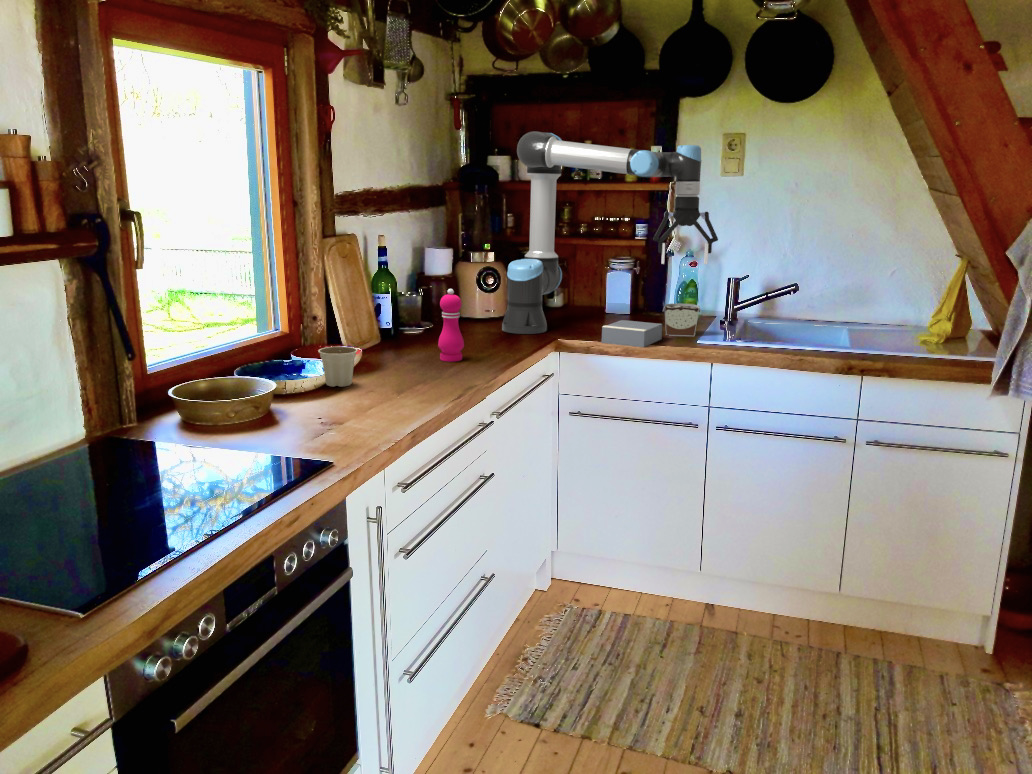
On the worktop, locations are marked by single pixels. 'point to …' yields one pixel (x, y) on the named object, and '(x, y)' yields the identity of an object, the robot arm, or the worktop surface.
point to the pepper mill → (450, 328)
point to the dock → (632, 333)
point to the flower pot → (338, 365)
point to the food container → (681, 319)
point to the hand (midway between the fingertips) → (684, 263)
